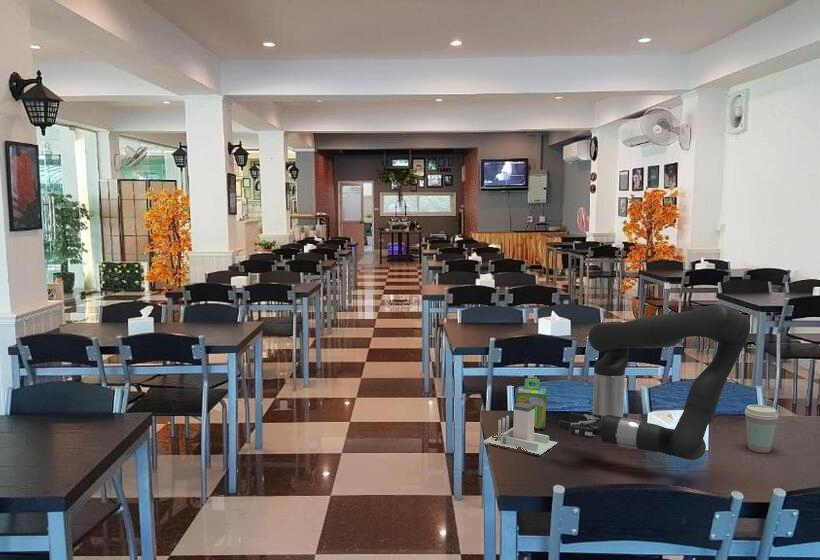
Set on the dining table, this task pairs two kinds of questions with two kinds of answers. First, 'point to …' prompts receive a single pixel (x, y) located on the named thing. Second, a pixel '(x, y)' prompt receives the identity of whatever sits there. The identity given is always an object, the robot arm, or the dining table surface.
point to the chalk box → (534, 400)
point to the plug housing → (524, 421)
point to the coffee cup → (760, 427)
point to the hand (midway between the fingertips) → (564, 420)
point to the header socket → (520, 440)
